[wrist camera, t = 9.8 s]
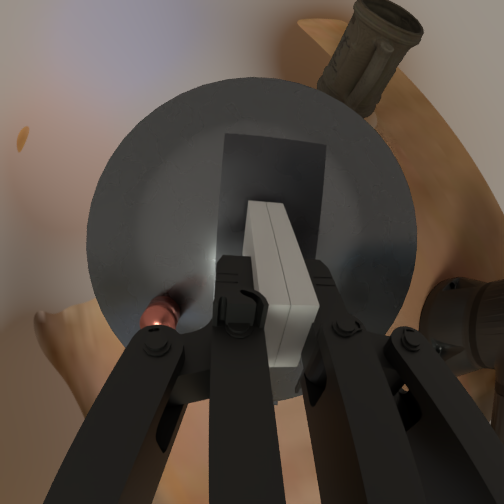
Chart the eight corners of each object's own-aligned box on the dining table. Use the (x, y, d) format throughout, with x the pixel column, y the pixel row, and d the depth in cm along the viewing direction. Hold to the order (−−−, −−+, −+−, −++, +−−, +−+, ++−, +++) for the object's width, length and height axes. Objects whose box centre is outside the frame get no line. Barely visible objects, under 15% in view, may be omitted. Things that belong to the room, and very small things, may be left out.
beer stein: (317, 65, 44) (352, -18, 24) (371, 83, 45) (420, 12, 25) (311, 129, 41) (360, 36, 22) (374, 148, 42) (444, 75, 22)
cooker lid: (415, 119, 17) (445, 111, 13) (371, 383, 21) (388, 409, 18) (109, 84, 15) (87, 66, 11) (110, 377, 19) (96, 405, 16)
